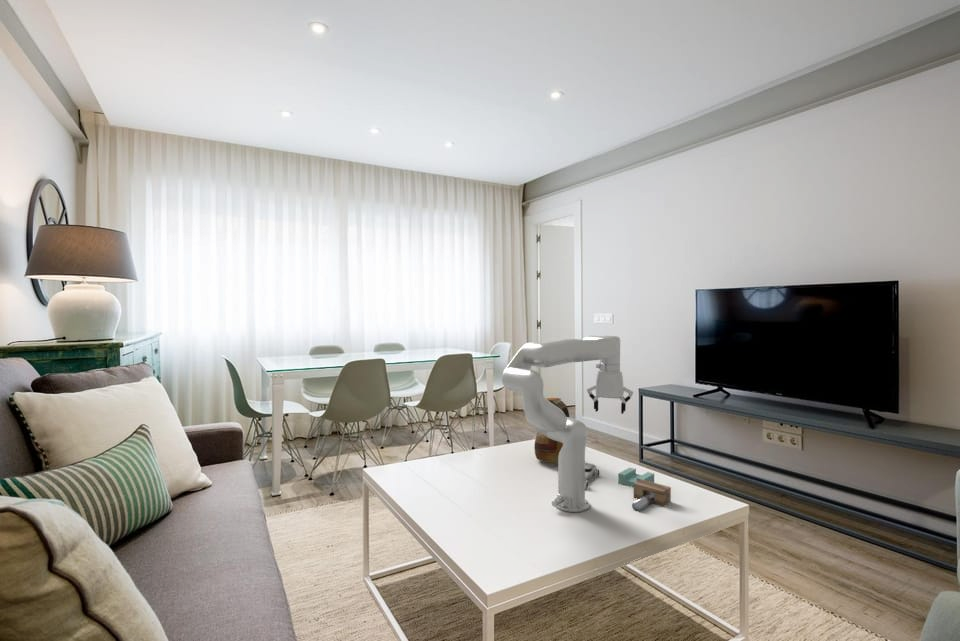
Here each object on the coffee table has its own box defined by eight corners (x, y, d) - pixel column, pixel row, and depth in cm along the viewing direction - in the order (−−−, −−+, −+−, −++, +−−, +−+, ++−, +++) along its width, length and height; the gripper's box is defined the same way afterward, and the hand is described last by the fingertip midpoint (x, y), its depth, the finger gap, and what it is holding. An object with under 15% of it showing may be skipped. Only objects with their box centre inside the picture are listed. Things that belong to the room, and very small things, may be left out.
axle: (640, 512, 166) (641, 504, 166) (631, 509, 168) (632, 500, 168) (657, 501, 176) (657, 492, 176) (648, 498, 178) (649, 490, 178)
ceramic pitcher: (553, 452, 235) (553, 392, 235) (586, 462, 220) (586, 398, 219) (525, 460, 223) (525, 397, 222) (558, 471, 207) (558, 404, 207)
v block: (643, 489, 186) (643, 479, 186) (618, 483, 194) (618, 473, 194) (654, 483, 193) (654, 473, 193) (629, 476, 201) (629, 467, 201)
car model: (559, 486, 191) (559, 474, 191) (578, 469, 212) (578, 458, 212) (586, 491, 186) (586, 479, 185) (602, 473, 207) (602, 461, 207)
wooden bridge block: (663, 506, 170) (663, 491, 170) (633, 497, 178) (633, 483, 178) (670, 501, 175) (670, 487, 175) (640, 493, 183) (640, 479, 183)
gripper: (585, 367, 182) (585, 412, 182) (632, 370, 175) (632, 415, 176) (588, 365, 189) (588, 408, 189) (634, 367, 182) (633, 412, 183)
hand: (609, 412), depth 182 cm, fingers open, 9 cm apart
